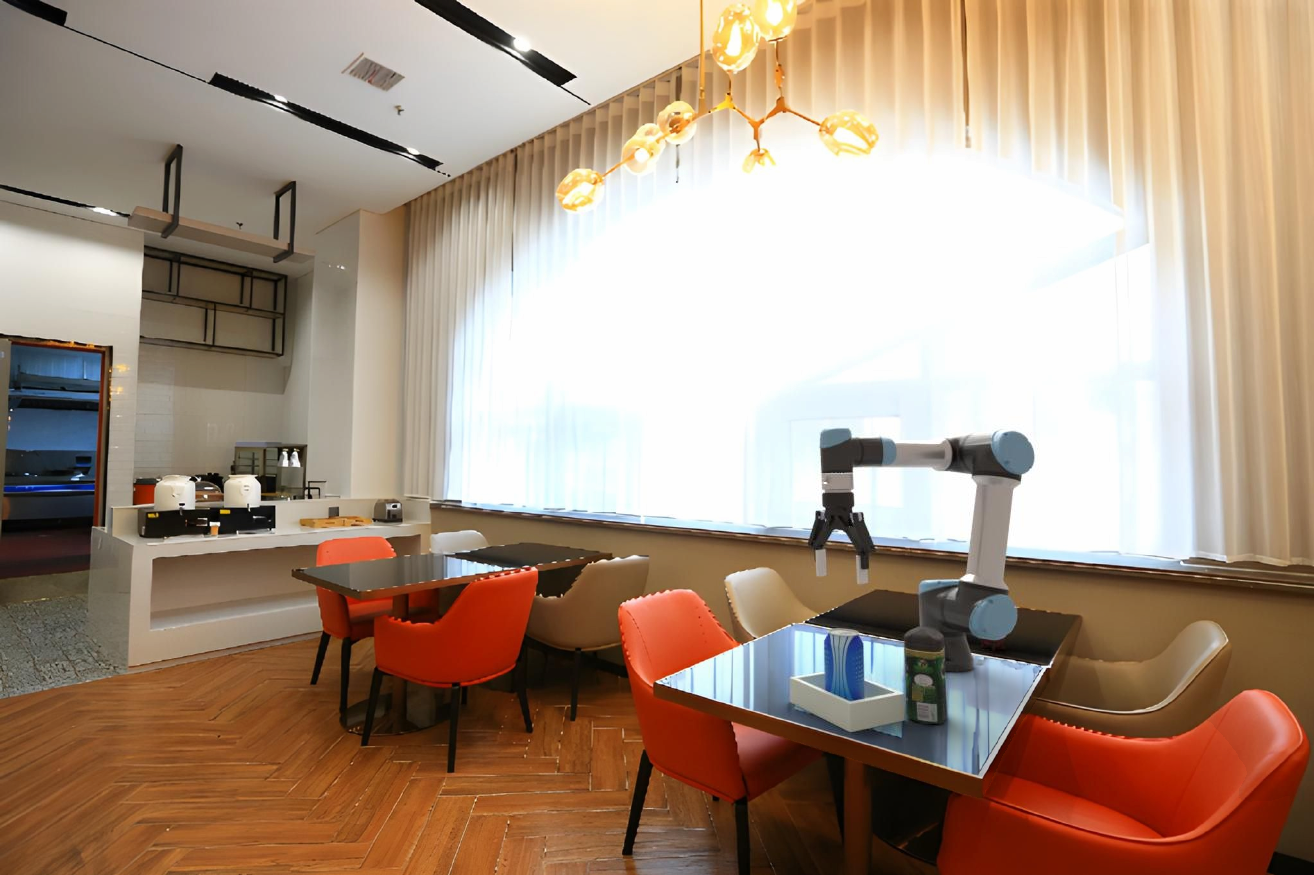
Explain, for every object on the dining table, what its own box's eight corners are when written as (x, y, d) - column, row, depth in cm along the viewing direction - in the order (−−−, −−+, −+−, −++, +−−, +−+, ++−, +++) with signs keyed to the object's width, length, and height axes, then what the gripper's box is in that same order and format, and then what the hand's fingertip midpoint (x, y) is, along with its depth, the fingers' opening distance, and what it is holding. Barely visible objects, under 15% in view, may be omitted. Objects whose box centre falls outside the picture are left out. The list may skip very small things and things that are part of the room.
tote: (840, 692, 150) (840, 669, 151) (904, 720, 133) (904, 693, 133) (789, 702, 144) (789, 677, 144) (850, 732, 126) (849, 704, 127)
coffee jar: (910, 707, 141) (908, 622, 142) (949, 714, 137) (946, 626, 138) (902, 721, 133) (900, 631, 134) (943, 728, 128) (940, 636, 130)
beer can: (859, 715, 133) (858, 638, 134) (820, 708, 137) (819, 633, 138) (868, 703, 140) (867, 630, 141) (830, 697, 144) (829, 625, 146)
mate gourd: (978, 644, 196) (976, 595, 197) (1006, 646, 193) (1005, 597, 194) (981, 650, 189) (980, 599, 190) (1011, 653, 186) (1009, 601, 187)
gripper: (791, 491, 163) (794, 574, 161) (865, 492, 141) (869, 588, 139) (814, 490, 166) (817, 572, 165) (889, 491, 144) (893, 585, 143)
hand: (841, 579), depth 152 cm, fingers open, 13 cm apart
